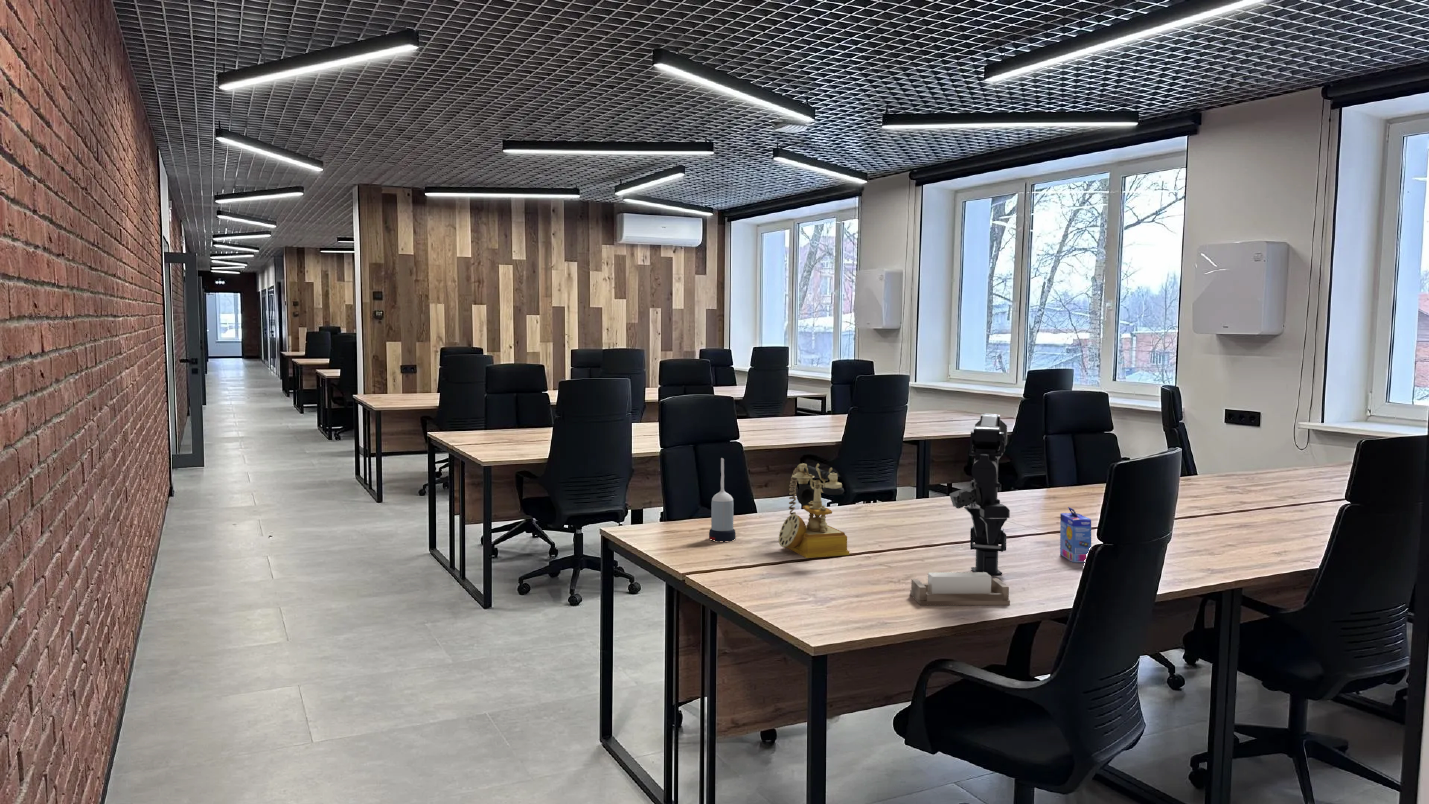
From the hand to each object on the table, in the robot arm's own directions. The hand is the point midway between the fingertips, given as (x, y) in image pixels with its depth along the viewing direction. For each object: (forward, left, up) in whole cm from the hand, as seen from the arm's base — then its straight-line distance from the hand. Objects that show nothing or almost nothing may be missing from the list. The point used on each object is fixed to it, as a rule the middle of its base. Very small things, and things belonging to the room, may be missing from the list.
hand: (984, 540), depth 239 cm
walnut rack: (+10, -9, -12) cm, 18 cm away
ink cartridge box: (-31, +36, -12) cm, 49 cm away
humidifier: (-59, -62, -12) cm, 86 cm away
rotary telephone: (-46, -38, -12) cm, 62 cm away
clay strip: (+10, -9, -11) cm, 17 cm away
